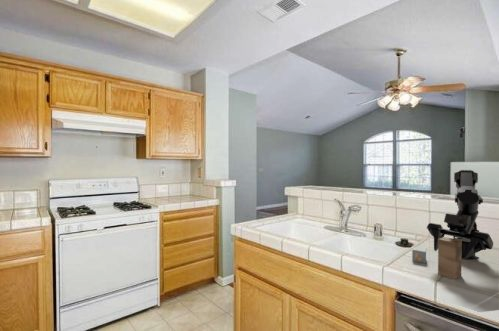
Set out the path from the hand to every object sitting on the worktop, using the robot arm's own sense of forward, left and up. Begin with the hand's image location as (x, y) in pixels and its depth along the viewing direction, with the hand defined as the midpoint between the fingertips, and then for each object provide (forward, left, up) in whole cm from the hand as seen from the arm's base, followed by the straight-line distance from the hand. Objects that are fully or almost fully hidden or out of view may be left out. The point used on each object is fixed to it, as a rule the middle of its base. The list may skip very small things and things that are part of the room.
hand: (449, 254), depth 94 cm
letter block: (-1, -14, -8) cm, 16 cm away
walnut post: (0, 0, -7) cm, 8 cm away
